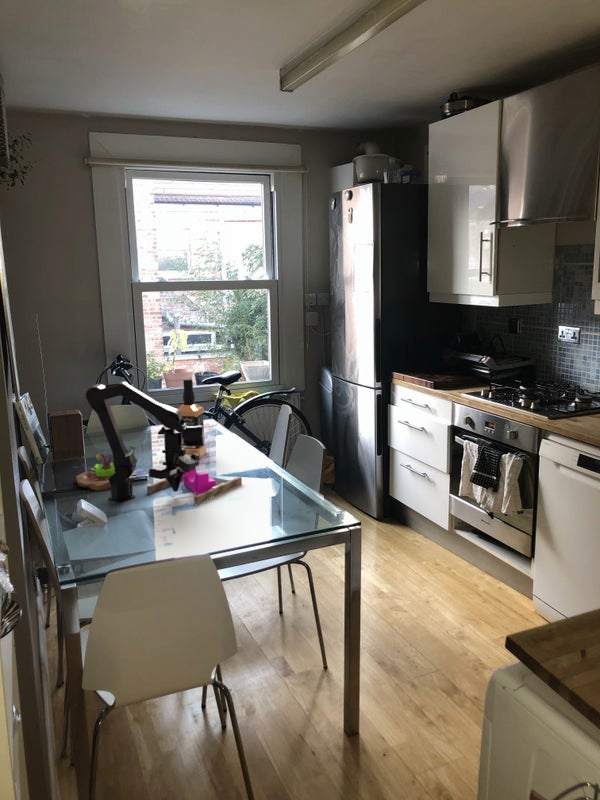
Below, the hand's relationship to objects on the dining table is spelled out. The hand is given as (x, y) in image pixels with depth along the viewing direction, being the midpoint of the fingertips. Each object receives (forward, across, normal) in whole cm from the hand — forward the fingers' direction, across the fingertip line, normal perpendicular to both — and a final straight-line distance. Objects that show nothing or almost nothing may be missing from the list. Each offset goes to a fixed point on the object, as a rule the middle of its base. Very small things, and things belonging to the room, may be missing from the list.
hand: (175, 491), depth 218 cm
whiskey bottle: (+2, +41, +28) cm, 50 cm away
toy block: (+2, +11, -1) cm, 11 cm away
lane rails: (+2, +10, 0) cm, 10 cm away
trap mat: (+2, +19, 0) cm, 19 cm away
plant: (+3, 0, +35) cm, 35 cm away
